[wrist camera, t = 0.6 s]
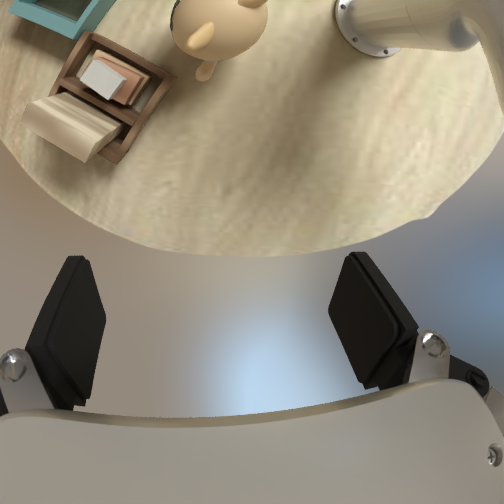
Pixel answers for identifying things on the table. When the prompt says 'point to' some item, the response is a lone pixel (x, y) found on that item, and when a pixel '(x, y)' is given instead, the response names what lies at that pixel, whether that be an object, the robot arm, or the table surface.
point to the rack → (123, 112)
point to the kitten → (217, 29)
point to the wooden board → (72, 124)
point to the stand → (63, 17)
